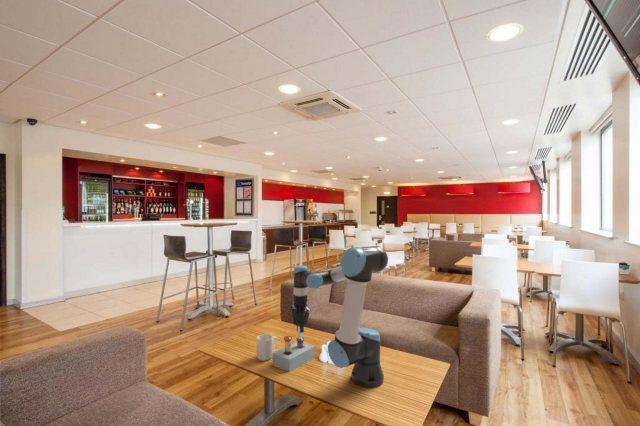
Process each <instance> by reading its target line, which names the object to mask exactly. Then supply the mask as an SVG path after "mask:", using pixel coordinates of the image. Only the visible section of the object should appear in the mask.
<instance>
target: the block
mask: <svg viewBox="0 0 640 426" xmlns="http://www.w3.org/2000/svg"><path fill="white" fill-rule="evenodd" d="M314 358H315V346H314V345H312V344H307V343H305V342H303V348H301V349H299V348H297V341H295V342H293V343H291V354H290V355H286V354H285V347H282V348H280V349H278V350H277V351H273V355H272V358H271V359H272V360H271V361H272V362H271V363H272V366H275V367H277V368H279V369H282V370H284V371H287V372H292V371H294V370H295V369H297V368H299V367H301V366H302V365H304V364H305V363H308V362H309V361H312V360H313V359H314Z"/></svg>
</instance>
